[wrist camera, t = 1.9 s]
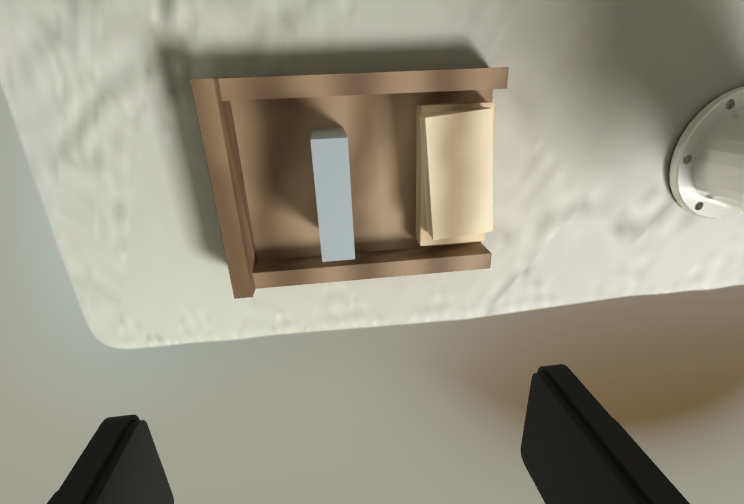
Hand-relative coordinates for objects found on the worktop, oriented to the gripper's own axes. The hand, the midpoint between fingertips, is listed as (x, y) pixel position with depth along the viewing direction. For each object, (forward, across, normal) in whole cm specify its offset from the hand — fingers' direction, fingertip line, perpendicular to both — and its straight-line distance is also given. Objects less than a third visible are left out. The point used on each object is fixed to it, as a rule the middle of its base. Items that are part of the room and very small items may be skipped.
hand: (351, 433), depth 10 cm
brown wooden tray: (+28, -2, 0) cm, 28 cm away
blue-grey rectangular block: (+27, 0, 0) cm, 27 cm away
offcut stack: (+27, -11, 0) cm, 29 cm away
